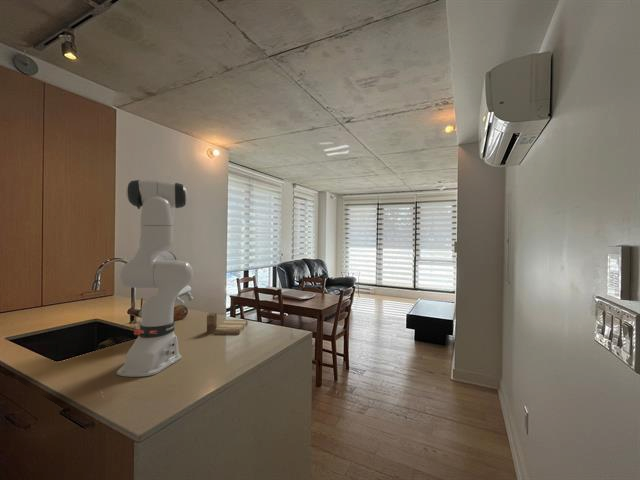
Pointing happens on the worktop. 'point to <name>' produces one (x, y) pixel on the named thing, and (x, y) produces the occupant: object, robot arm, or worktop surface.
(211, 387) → the worktop surface
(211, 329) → the block
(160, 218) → the robot arm
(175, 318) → the brown flat oval piece
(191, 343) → the worktop surface
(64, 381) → the worktop surface
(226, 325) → the board
